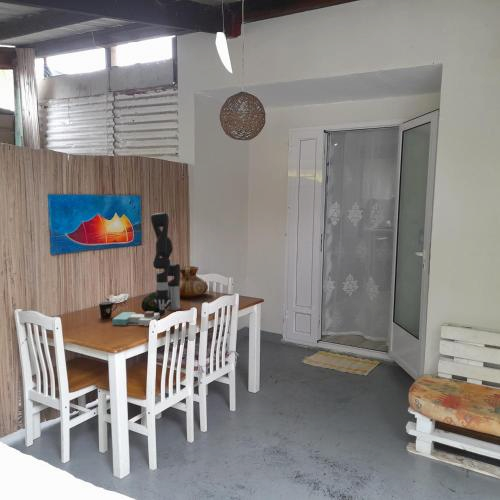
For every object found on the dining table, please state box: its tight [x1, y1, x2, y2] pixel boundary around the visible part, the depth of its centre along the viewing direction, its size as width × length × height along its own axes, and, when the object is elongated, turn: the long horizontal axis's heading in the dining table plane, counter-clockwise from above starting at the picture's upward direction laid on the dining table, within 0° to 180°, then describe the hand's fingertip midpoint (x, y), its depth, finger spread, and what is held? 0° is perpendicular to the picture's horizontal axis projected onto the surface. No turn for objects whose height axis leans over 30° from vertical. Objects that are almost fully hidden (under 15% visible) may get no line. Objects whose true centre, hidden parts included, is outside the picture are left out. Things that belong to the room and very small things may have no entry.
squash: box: [141, 291, 160, 313], centre depth 316 cm, size 14×15×15 cm
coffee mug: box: [98, 300, 118, 320], centre depth 303 cm, size 12×9×10 cm
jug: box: [180, 265, 209, 299], centre depth 370 cm, size 30×30×25 cm
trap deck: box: [112, 311, 161, 327], centre depth 293 cm, size 18×25×4 cm
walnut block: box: [143, 311, 155, 317], centre depth 292 cm, size 5×5×2 cm
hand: (162, 315), depth 291 cm, fingers closed
